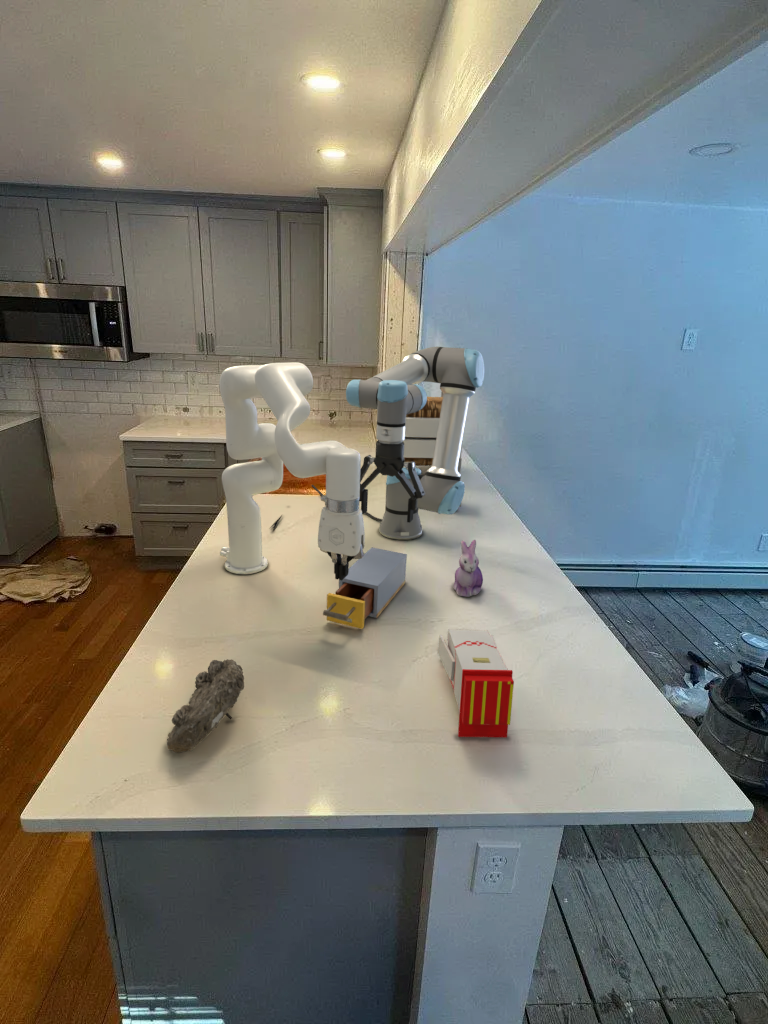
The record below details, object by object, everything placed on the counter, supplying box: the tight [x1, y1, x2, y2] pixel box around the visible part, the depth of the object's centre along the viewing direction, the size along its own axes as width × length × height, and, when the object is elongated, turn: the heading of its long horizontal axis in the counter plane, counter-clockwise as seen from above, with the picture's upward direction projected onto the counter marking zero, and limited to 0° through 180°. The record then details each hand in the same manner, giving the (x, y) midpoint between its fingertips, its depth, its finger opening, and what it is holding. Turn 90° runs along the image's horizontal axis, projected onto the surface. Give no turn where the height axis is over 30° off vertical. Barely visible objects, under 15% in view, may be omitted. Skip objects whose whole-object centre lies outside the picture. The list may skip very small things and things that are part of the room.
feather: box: [268, 514, 283, 532], centre depth 208 cm, size 2×28×2 cm
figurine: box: [453, 539, 484, 598], centre depth 159 cm, size 9×10×15 cm
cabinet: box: [338, 546, 408, 619], centre depth 155 cm, size 22×11×9 cm, turn 159°
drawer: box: [322, 582, 374, 630], centre depth 145 cm, size 26×10×7 cm, turn 159°
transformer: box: [402, 391, 464, 475], centre depth 268 cm, size 34×33×41 cm
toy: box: [437, 628, 515, 738], centre depth 117 cm, size 12×13×30 cm
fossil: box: [166, 658, 245, 754], centre depth 106 cm, size 22×10×15 cm
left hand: (341, 577), depth 133 cm, fingers closed
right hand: (386, 516), depth 156 cm, fingers open, 13 cm apart
